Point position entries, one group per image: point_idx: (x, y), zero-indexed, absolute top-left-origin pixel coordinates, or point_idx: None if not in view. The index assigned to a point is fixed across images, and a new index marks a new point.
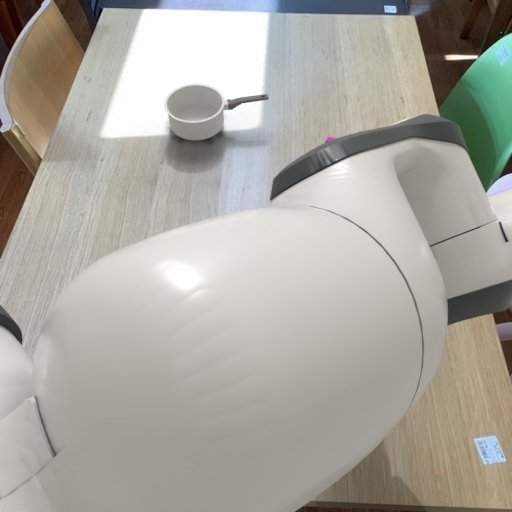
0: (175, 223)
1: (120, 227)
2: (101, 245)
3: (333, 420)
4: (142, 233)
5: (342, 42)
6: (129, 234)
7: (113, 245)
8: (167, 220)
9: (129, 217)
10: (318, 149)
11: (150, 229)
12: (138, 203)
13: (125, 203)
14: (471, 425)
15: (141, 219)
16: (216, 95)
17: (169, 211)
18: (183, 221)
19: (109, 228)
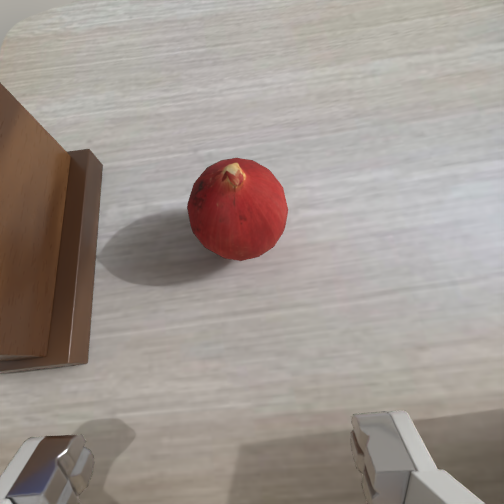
0: (468, 88)
1: (420, 15)
2: (372, 3)
3: None
4: (421, 47)
5: None
6: (410, 30)
7: (378, 17)
8: (470, 74)
9: (448, 20)
10: None
11: (435, 55)
12: (488, 23)
13: (478, 7)
14: None
15: (452, 37)
16: None
17: (494, 72)
18: (480, 100)
19: (412, 3)
